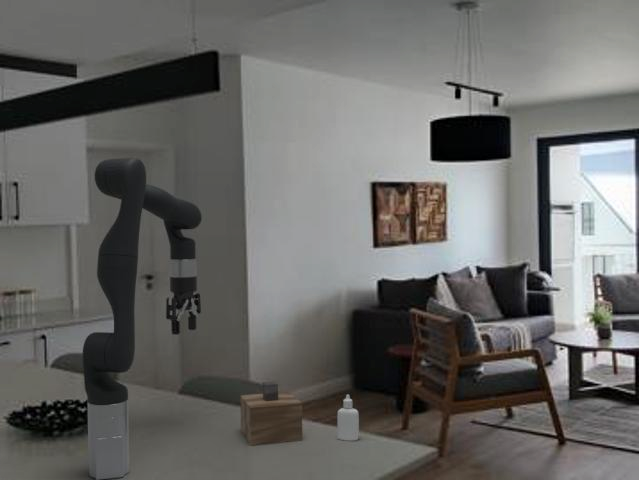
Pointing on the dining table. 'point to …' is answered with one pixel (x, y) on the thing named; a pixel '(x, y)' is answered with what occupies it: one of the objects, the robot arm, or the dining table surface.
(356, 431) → the eye dropper bottle
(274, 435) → the cover
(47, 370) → the dining table surface
